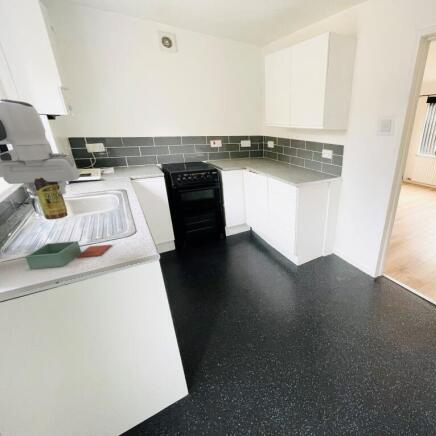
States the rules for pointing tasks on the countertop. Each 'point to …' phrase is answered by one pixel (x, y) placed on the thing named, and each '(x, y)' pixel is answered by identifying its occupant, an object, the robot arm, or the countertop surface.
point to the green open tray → (53, 255)
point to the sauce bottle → (50, 199)
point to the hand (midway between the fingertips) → (49, 194)
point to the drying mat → (94, 251)
